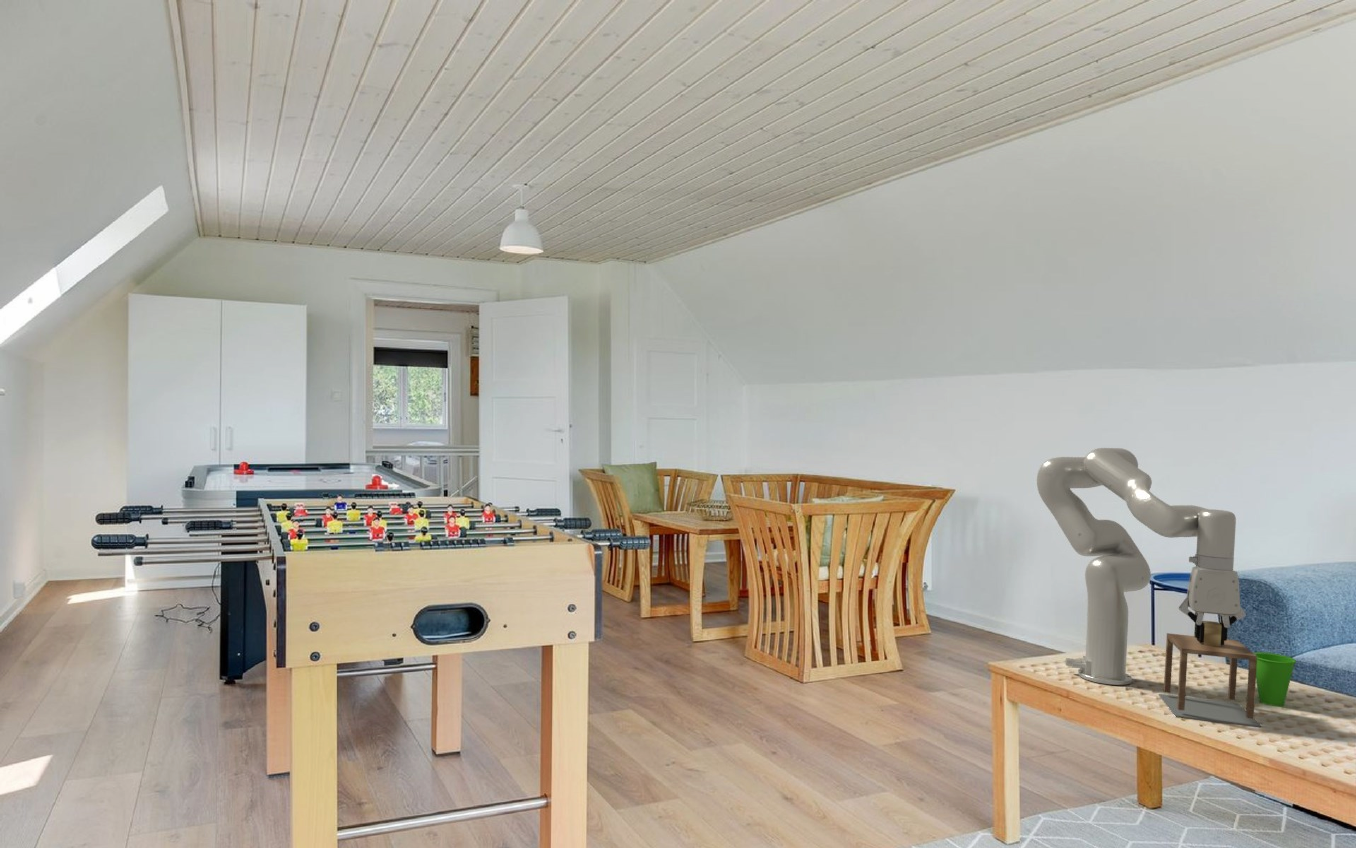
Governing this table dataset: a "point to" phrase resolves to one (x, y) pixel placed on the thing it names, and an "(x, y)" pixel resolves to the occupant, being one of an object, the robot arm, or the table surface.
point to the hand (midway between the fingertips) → (1210, 641)
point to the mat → (1209, 710)
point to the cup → (1273, 677)
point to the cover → (1210, 648)
